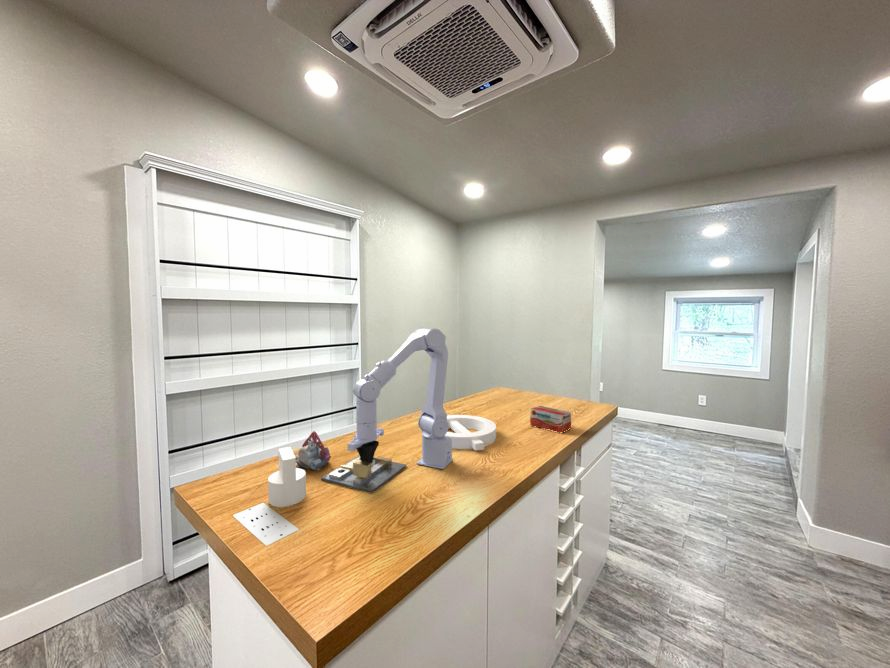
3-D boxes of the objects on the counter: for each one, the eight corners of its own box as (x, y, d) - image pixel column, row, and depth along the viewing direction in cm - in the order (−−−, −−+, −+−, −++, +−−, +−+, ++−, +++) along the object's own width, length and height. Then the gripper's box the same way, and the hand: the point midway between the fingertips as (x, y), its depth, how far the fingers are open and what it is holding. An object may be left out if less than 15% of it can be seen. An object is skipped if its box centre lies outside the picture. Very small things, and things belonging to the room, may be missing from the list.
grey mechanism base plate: (406, 467, 110) (406, 457, 110) (372, 493, 94) (372, 481, 93) (360, 457, 117) (360, 448, 117) (321, 480, 101) (321, 469, 101)
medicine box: (571, 430, 147) (571, 411, 146) (562, 434, 141) (563, 415, 140) (538, 422, 157) (539, 404, 157) (529, 426, 151) (529, 408, 151)
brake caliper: (343, 453, 114) (325, 431, 108) (322, 484, 107) (301, 463, 100) (319, 447, 120) (300, 426, 113) (298, 476, 113) (276, 455, 106)
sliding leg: (371, 475, 99) (371, 462, 99) (367, 478, 97) (367, 465, 97) (342, 468, 103) (342, 456, 103) (338, 471, 102) (338, 459, 101)
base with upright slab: (309, 500, 90) (308, 455, 89) (270, 510, 85) (269, 463, 85) (302, 486, 98) (301, 444, 97) (267, 494, 93) (265, 451, 92)
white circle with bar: (444, 422, 158) (444, 411, 157) (504, 431, 145) (504, 420, 145) (412, 442, 132) (412, 430, 132) (481, 455, 120) (481, 442, 120)
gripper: (370, 412, 109) (370, 455, 109) (338, 426, 96) (339, 474, 96) (389, 415, 106) (389, 459, 107) (359, 429, 93) (359, 479, 93)
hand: (367, 466), depth 101 cm, fingers closed
